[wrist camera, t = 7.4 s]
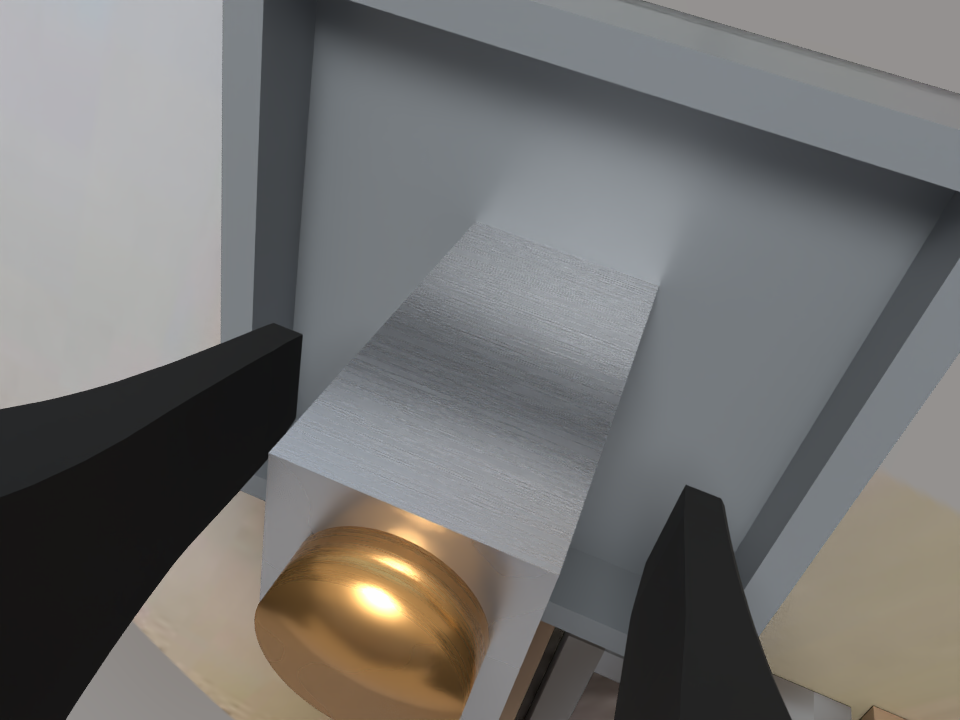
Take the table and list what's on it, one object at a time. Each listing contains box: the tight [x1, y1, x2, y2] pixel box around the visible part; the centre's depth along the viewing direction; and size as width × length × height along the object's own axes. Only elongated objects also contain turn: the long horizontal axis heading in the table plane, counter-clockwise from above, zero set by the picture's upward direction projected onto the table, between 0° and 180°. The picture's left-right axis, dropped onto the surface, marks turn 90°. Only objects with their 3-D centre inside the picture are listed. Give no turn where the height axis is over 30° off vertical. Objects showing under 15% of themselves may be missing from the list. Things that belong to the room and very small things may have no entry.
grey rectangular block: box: [254, 221, 659, 720], centre depth 14 cm, size 4×4×9 cm
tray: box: [221, 0, 960, 656], centre depth 17 cm, size 14×14×2 cm
